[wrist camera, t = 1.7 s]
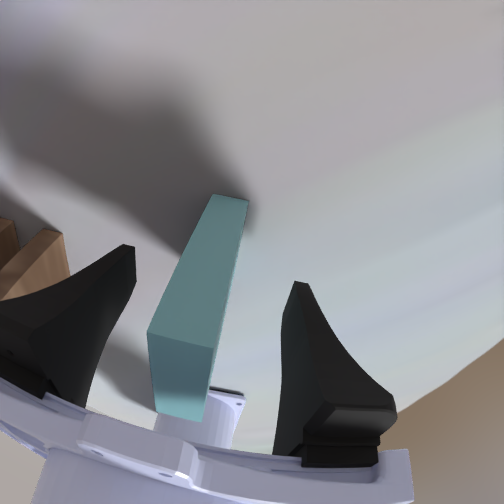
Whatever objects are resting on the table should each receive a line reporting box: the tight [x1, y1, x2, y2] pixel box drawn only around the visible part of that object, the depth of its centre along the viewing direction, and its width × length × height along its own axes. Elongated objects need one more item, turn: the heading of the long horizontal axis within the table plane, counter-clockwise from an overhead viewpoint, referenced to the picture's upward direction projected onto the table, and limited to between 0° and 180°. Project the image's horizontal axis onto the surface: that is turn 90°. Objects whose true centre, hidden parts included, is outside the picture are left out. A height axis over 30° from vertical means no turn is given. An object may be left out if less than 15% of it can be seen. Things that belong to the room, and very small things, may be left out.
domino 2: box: [0, 229, 70, 301], centre depth 15 cm, size 2×5×9 cm, turn 169°
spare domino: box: [147, 194, 249, 423], centre depth 13 cm, size 2×5×9 cm, turn 169°
